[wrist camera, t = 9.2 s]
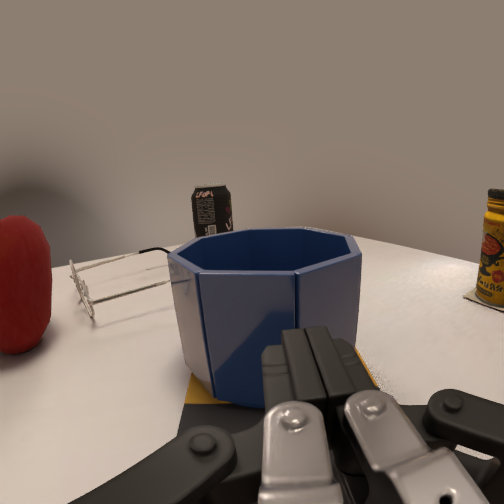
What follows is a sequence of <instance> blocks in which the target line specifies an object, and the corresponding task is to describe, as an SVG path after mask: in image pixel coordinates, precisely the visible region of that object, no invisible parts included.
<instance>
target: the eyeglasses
mask: <svg viewBox="0 0 504 504" xmlns="http://www.w3.org/2000/svg"><path fill="white" fill-rule="evenodd" d="M153 250H162V251H164V252H166V253H167V254H169V253H170V251H168V250H166V249H163V248H159V247H157V248H151V249H146V250H142V251H138V252H136V253H134V254H131V255H135V254H141V253H145V252H149V251H153ZM131 255H127V256H122V257H118V258H115V259H111V260H107V261H104V262H100V263H97V264H93V265H90V266H86V267H83V268H79V269H75V268H74V265H73V263H72V260H70V266H71V270H72V273H73V274H72V275H70V277H71V278H72V279H74V283H76V287H77V289H78V291H79V294H80V296H81V298H82V300H83V303H84V305H85V307H86V309H87V311H88V313H89V314H90V317H91V318H92V317H94V316H95V314H94V310H93V307H92V305H95V304H98V303H101V302H105V301H108V300H112V299H115V298H119V297H122V296H125V295H129V294H132V293H136V292H139V291H142V290H146V289H149V288H153V287H156V286H159V285H163V284H166V283H167V282H170V281H171V280H169V281H162V282H159V283H155V284H151V285H148V286H144V287H141V288H137V289H133V290H130V291H126V292H122V293H119V294H115V295H112V296H108V297H104V298H101V299H97V300H93V299H90V298H89V293H88V286H87V285H85V281H84V280H83V281H82V280H81V278H80V276H79V275H78V274H76V273H77V272H79V271H82V270H85V269H89V268H92V267H95V266H99V265H102V264H105V263H109V262H112V261H116V260H119V259H122V258H125V257H128V256H131ZM72 276H73V277H72ZM78 279H79V280H78ZM79 281H80V283H81V284H79ZM80 285H81V287H80ZM82 290H84V296H86V297H87V301H88V304H89V305H90V308H91V311H90V309H89V307H88V305H87V303H86V301H85V299H84V296H83V292H82ZM91 312H92V313H91Z"/></svg>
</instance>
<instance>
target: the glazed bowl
mask: <svg viewBox="0 0 504 504" xmlns="http://www.w3.org/2000/svg"><path fill="white" fill-rule="evenodd" d="M167 259H168V266H169V273H170V280H171V286H172V293H173V299H174V305H175V311H176V317H177V322H178V328H179V333H180V338H181V343H182V348H183V353H184V358H185V363H186V365H187V366H188V367H189V369H190V370H191V371H192V372H193V374H194V375H195V376H196V377H197V379H198V380H199V381H200V382H201V384H202V385H203V386H204V387H205V388H206V390H207V391H208V392H209V393H210V394H211V396H212V397H213V398H217V400H220V401H227V402H231V403H233V404H237V405H241V406H245V407H251V408H264V409H265V403H264V390H263V373H262V357H261V355H262V353H263V351H264V350H265V348H266V347H267V346H270V345H281V330H288V329H299V328H303V329H304V328H309V327H318V326H326V327H327V329H328V331H329V333H330V335H331V337H332V339H338V338H343V339H344V340H345V341H347V342H348V343H350V344H351V345H352V346H353V347H354V349H355V342H356V333H357V323H358V312H359V300H360V285H361V266H362V253H361V251H360V249H359V247H358V245H357V243H356V241H355V240H354V238H353V236H350V235H346V234H341V233H335V232H330V231H324V230H319V229H313V228H308V227H307V228H305V227H286V228H250V229H241V230H236V231H230V232H225V233H219V234H213V235H208V236H203V237H198V238H194V239H193V240H191V241H189V242H187V243H186V244H184V245H182V246H181V247H179V248H177V249H175V250H174V251H172V252H170V253H169V254H167Z"/></svg>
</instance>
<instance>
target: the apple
mask: <svg viewBox="0 0 504 504" xmlns="http://www.w3.org/2000/svg"><path fill="white" fill-rule="evenodd" d="M50 258H51V257H50V246H49V244H48V242H47V240H46V238H45V236H44V233H43V231H42V229H41V227H40V226H39V225H37V224H36V223H35V222H33V221H31V220H30V219H28V218H27V217H25V216H8V217H6V218H4V219H1V220H0V351H1V352H3V353H5V354H18V353H22V352H25V351H28V350H30V349H32V348H34V347H35V346H36V345H37V344H38V343H39V342H40V339H41V337H42V335H43V333H44V331H45V329H46V327H47V325H48V323H49V322H50V317H51V296H52V271H51V259H50Z"/></svg>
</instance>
